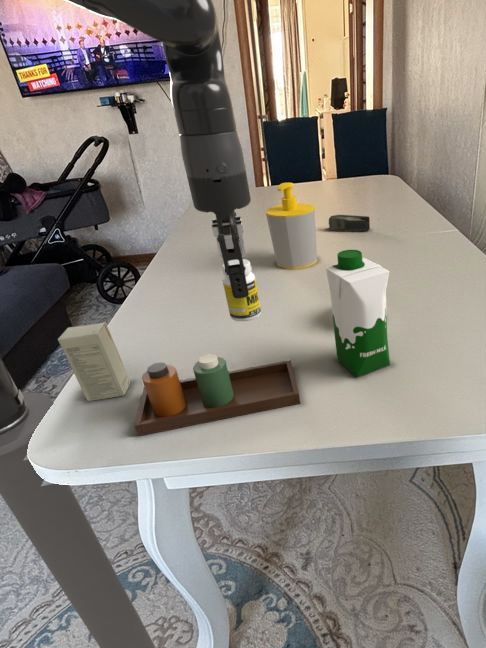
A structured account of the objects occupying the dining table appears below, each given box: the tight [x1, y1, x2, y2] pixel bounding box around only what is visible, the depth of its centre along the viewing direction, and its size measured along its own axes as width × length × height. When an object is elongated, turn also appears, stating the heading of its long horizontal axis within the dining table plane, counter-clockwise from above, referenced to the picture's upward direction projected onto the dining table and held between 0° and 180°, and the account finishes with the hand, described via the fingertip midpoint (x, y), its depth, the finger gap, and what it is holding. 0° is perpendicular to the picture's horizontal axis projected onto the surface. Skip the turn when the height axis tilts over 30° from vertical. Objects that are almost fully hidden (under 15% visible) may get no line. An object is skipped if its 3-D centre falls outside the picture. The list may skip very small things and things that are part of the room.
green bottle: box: [192, 353, 234, 407], centre depth 75 cm, size 5×5×8 cm
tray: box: [134, 359, 301, 437], centre depth 77 cm, size 25×11×2 cm, turn 105°
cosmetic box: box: [57, 321, 131, 402], centre depth 78 cm, size 6×4×12 cm
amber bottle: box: [141, 362, 186, 417], centre depth 73 cm, size 5×5×8 cm
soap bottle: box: [265, 182, 318, 270], centre depth 127 cm, size 13×13×21 cm
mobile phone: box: [324, 214, 371, 232], centre depth 154 cm, size 5×3×15 cm
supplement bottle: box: [221, 258, 262, 322], centre depth 70 cm, size 5×5×8 cm
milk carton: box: [325, 249, 391, 378], centre depth 80 cm, size 9×9×20 cm
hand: (240, 289), depth 70 cm, fingers closed on supplement bottle, 4 cm apart
